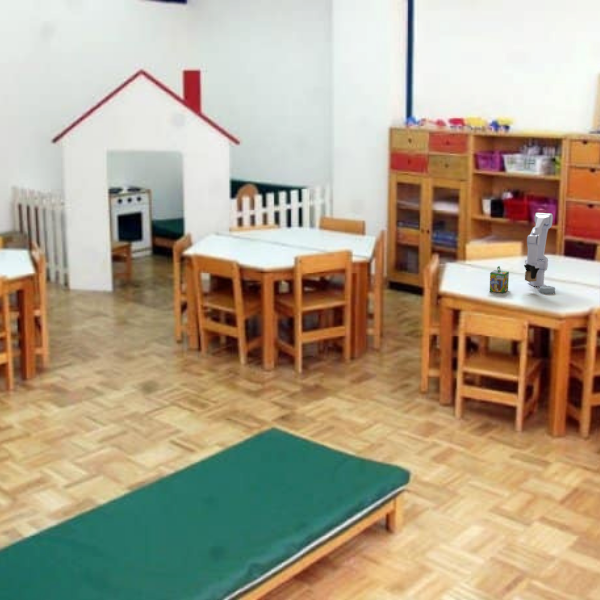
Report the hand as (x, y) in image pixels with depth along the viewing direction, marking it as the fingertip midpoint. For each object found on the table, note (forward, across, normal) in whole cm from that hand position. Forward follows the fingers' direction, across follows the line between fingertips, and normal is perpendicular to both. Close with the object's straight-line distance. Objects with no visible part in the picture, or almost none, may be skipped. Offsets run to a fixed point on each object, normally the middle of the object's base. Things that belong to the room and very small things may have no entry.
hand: (531, 277), depth 520 cm
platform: (+8, +4, +9) cm, 13 cm away
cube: (+2, 0, 0) cm, 2 cm away
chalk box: (+9, -5, -18) cm, 20 cm away
